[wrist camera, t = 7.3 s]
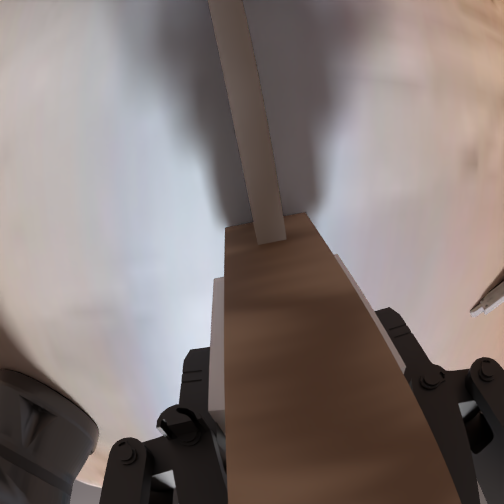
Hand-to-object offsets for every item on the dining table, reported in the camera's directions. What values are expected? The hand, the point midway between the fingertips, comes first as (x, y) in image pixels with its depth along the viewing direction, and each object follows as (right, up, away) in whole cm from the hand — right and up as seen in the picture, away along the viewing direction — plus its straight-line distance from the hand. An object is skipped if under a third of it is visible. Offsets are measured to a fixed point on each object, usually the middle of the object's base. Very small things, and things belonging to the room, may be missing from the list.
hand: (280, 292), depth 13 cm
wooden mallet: (-2, +8, -2) cm, 8 cm away
